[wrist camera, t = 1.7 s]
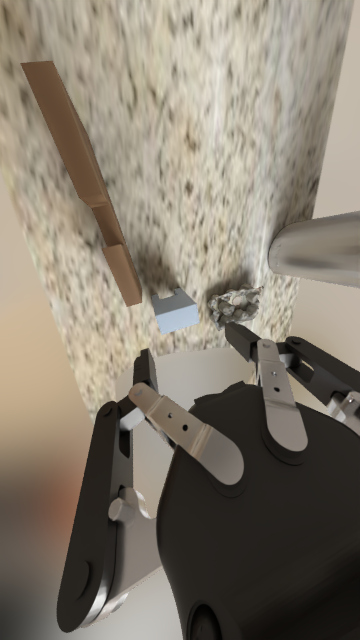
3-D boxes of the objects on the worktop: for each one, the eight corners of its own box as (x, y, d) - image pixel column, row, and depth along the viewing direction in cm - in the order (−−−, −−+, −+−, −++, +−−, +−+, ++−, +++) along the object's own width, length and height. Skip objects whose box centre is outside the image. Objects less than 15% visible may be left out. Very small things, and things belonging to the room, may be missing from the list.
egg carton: (251, 280, 29) (266, 284, 25) (249, 311, 33) (263, 318, 29) (205, 294, 28) (214, 300, 24) (208, 324, 31) (217, 334, 28)
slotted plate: (88, 136, 15) (52, 60, 9) (142, 289, 24) (141, 302, 18) (69, 138, 15) (20, 63, 9) (130, 292, 24) (126, 306, 18)
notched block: (180, 287, 26) (196, 303, 18) (183, 302, 27) (199, 322, 19) (151, 295, 25) (155, 316, 17) (155, 310, 26) (161, 334, 19)
